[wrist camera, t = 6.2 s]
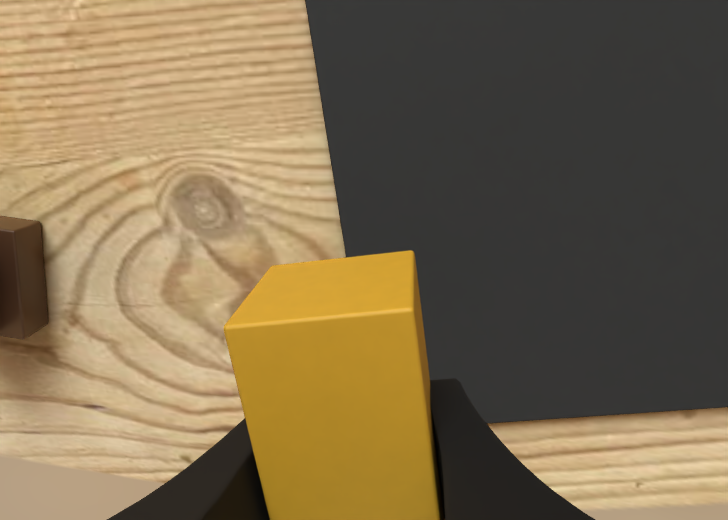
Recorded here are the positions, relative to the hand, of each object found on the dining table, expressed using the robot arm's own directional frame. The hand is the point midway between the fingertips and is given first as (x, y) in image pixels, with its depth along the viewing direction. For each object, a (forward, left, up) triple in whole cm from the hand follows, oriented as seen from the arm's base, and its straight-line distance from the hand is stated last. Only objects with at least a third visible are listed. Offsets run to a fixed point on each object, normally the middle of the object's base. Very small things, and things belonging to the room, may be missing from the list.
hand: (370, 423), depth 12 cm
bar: (0, 0, 0) cm, 0 cm away
